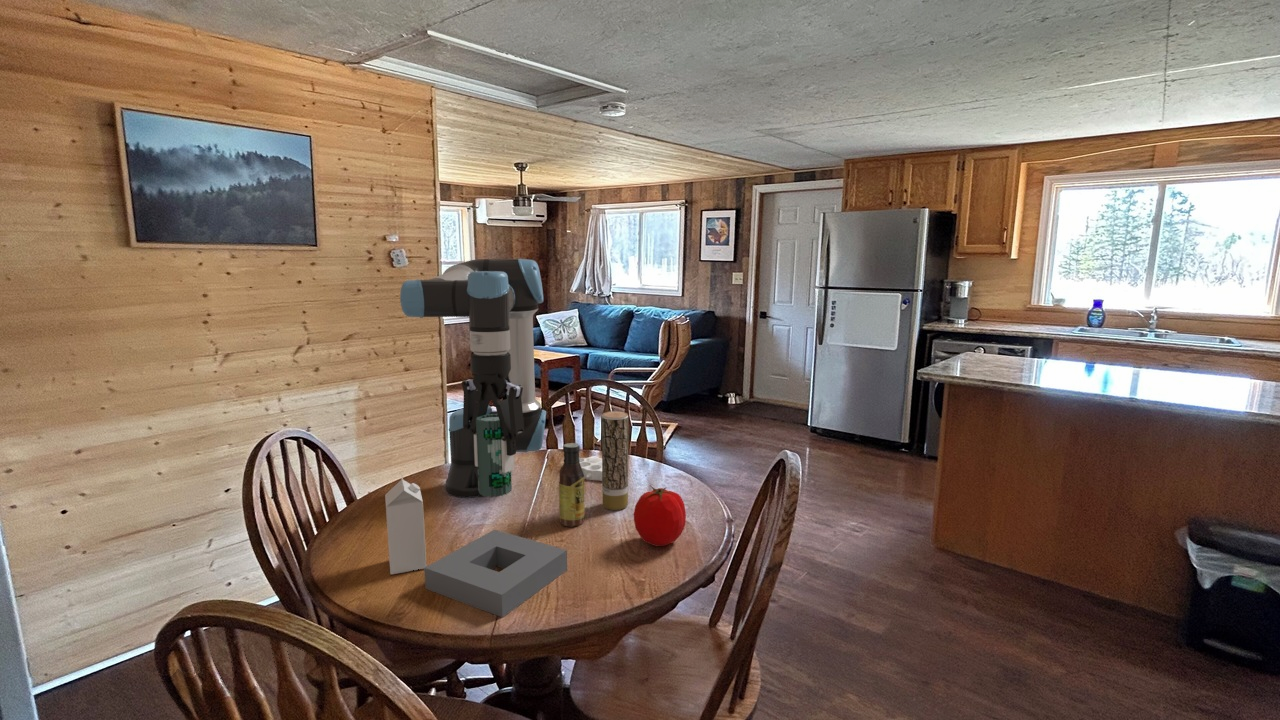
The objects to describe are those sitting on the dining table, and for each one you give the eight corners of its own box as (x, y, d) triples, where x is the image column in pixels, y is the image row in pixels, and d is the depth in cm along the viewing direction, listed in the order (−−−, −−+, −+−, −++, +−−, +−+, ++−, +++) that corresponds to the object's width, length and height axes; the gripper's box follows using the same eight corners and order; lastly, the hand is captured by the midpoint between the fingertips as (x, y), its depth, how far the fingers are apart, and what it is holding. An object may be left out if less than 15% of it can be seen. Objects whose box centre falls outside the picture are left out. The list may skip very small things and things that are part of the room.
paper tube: (613, 513, 158) (613, 419, 154) (597, 505, 163) (596, 414, 159) (633, 506, 163) (633, 415, 158) (617, 499, 168) (617, 410, 164)
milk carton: (390, 575, 127) (384, 488, 124) (389, 560, 133) (383, 476, 130) (426, 569, 129) (421, 483, 126) (423, 554, 136) (419, 472, 133)
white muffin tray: (632, 473, 189) (601, 487, 177) (589, 462, 200) (557, 474, 188) (632, 463, 188) (601, 476, 177) (588, 452, 199) (557, 463, 188)
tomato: (693, 550, 138) (694, 494, 136) (641, 557, 135) (641, 500, 133) (676, 529, 149) (676, 477, 147) (627, 535, 146) (627, 482, 144)
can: (500, 498, 118) (497, 422, 116) (473, 494, 120) (470, 420, 118) (516, 487, 124) (514, 415, 122) (490, 484, 126) (487, 412, 124)
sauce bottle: (580, 529, 149) (579, 450, 146) (555, 526, 150) (554, 448, 147) (587, 518, 155) (587, 442, 152) (564, 515, 156) (563, 440, 153)
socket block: (425, 588, 122) (424, 567, 121) (495, 548, 139) (494, 529, 138) (502, 617, 112) (501, 594, 111) (567, 570, 129) (566, 550, 128)
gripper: (439, 350, 119) (444, 464, 123) (516, 359, 110) (520, 481, 114) (467, 346, 126) (472, 454, 129) (542, 353, 116) (545, 470, 120)
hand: (494, 467), depth 121 cm, fingers closed on can, 6 cm apart
